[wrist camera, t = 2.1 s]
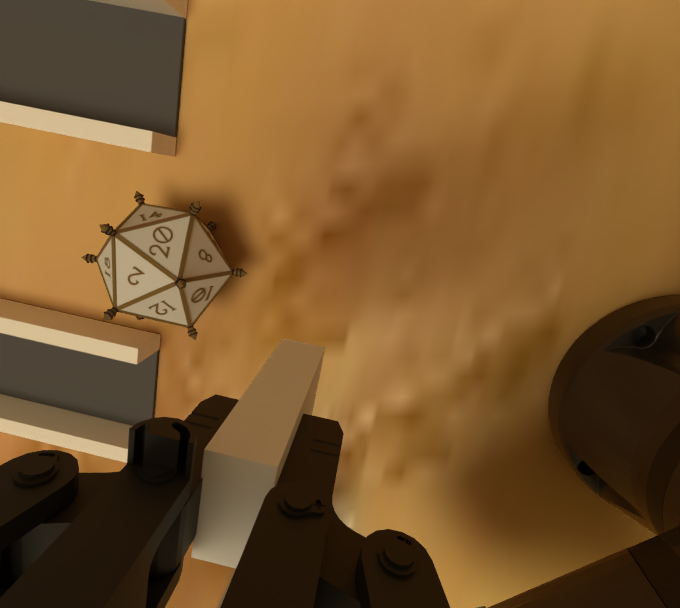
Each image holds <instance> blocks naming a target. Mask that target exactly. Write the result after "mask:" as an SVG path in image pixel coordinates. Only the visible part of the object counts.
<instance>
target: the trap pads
mask: <svg viewBox="0 0 680 608" xmlns="http://www.w3.org/2000/svg"><path fill="white" fill-rule="evenodd" d="M185 29H186V19H185V18H184V17H178V16H173V15H167V14H162V13H156V12H151V11H145V10H140V9H134V8H129V7H123V6H118V5H112V4H107V3H101V2H96V1H90V0H0V101H2V102H7V103H12V104H17V105H22V106H27V107H32V108H37V109H42V110H47V111H52V112H57V113H62V114H67V115H72V116H77V117H82V118H87V119H92V120H97V121H102V122H107V123H112V124H118V125H123V126H128V127H133V128H138V129H143V130H148V131H153V132H156V133H160V134H164V135H168V136H172V137H176V138H177V127H178V115H179V103H180V90H181V78H182V66H183V53H184V41H185ZM158 361H159V350H158V351H156V352H155V353H153V354H152V355H150V356H149V357H147V358H146V359H144V360H143V361H141V362H140V363H139V364H132V363H128V362H124V361H120V360H115V359H111V358H107V357H102V356H98V355H94V354H89V353H85V352H81V351H76V350H72V349H68V348H64V347H59V346H55V345H51V344H46V343H42V342H38V341H33V340H29V339H25V338H20V337H16V336H12V335H8V334H3V333H0V394H2V395H6V396H11V397H15V398H19V399H23V400H27V401H31V402H35V403H40V404H44V405H48V406H52V407H56V408H60V409H65V410H69V411H73V412H77V413H81V414H85V415H89V416H94V417H98V418H102V419H106V420H110V421H114V422H118V423H123V424H127V425H131V426H134V425H135V424H137V423H139V422H141V421H144V420H148V419H151V418H154V411H155V398H156V386H157V374H158Z"/></svg>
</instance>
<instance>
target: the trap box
mask: <svg viewBox="0 0 680 608" xmlns="http://www.w3.org/2000/svg"><path fill="white" fill-rule="evenodd" d="M90 1H96V2H101V3H107V4H112V5H118V6H123V7H129V8H134V9H140V10H145V11H151V12H156V13H162V14H167V15H173V16H178V17H184V18H185V19H186V16H187V4H188V0H90ZM0 122H3V123H8V124H13V125H18V126H23V127H28V128H33V129H38V130H43V131H48V132H53V133H58V134H63V135H68V136H73V137H78V138H83V139H87V140H92V141H97V142H102V143H107V144H112V145H117V146H122V147H127V148H132V149H137V150H142V151H147V152H152V153H158V154H164V155H169V156H175V152H176V140H177V138H176V137H172V136H168V135H164V134H160V133H156V132H153V131H148V130H143V129H138V128H133V127H128V126H123V125H118V124H112V123H107V122H102V121H97V120H92V119H87V118H82V117H77V116H72V115H67V114H62V113H57V112H52V111H47V110H42V109H37V108H32V107H27V106H22V105H17V104H12V103H7V102H2V101H0ZM0 333H3V334H8V335H12V336H16V337H20V338H25V339H29V340H33V341H38V342H42V343H46V344H51V345H55V346H59V347H64V348H68V349H72V350H76V351H81V352H85V353H89V354H94V355H98V356H102V357H107V358H111V359H115V360H120V361H124V362H128V363H132V364H139V363H140V362H141V361H143V360H144V359H146V358H147V357H149V356H150V355H152V354H153V353H155V352H156V351H158V350H159V349H160V337H161V335H160V334H155V333H151V332H146V331H142V330H138V329H133V328H129V327H124V326H120V325H116V324H111V323H107V322H102V321H98V320H94V319H89V318H85V317H80V316H76V315H72V314H67V313H63V312H58V311H54V310H50V309H45V308H41V307H36V306H32V305H28V304H23V303H19V302H14V301H10V300H6V299H1V298H0ZM131 427H132V426H131V425H127V424H123V423H118V422H114V421H110V420H106V419H102V418H98V417H94V416H89V415H85V414H81V413H77V412H73V411H69V410H65V409H60V408H56V407H52V406H48V405H44V404H40V403H35V402H31V401H27V400H23V399H19V398H15V397H11V396H6V395H2V394H0V432H4V433H8V434H12V435H16V436H20V437H24V438H28V439H32V440H36V441H40V442H45V443H49V444H53V445H57V446H61V447H65V448H69V449H73V450H77V451H81V452H85V453H89V454H93V455H97V456H101V457H105V458H109V459H114V460H118V461H122V462H126V463H127V456H128V440H129V428H131Z"/></svg>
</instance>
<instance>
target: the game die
mask: <svg viewBox="0 0 680 608" xmlns="http://www.w3.org/2000/svg"><path fill="white" fill-rule="evenodd" d="M143 196H144V195H142V194H140V193H139V192H138V191H136V194H135V197H134V198H135V199H136V200H135V201H136V202H138V204H139V205H138V206H137V207H136V208H135V210H134V211H133V212H132V213H131V214H130V215H129V216H128V217H127V218H126V219H125V220H124V221H123V222H122V223H121V224H120V225H119V226H118V227H117V228H116V229H115V230H114V229H113V227H112V226H109V224H103V225H100V228H101V232H103V233H105V234H106V235H110V236H109V238H108V239H107V241H106V243H105V244H104V246H103V247H102V249H101V251H100V252H99V254H98V255H97V256H95V255H92V254H91V255H90V254H87V255H85V256H83V257H81V258H83V259H84V260H85V261H87V263H89V262H91V263H93V262H97V263H98V266H99V269H100V272H101V275H102V277H103V280H104V283H105V286H106V289H107V291H108V294H109V297H110V300H111V302H112V305H113V308H112V309H108V311H106V312H104V318H103V321H104V320H109V319H112V318H113V316H115V315H116V313H117V312H121V313H125V314H130V315H134V316H136V317H137V319H138V320H140V319H144V318H147V319H152V320H156V321H160V322H165V323H169V324H174V325H178V326H183V327H187V328H188V332H187V333H189V336H190V337H191V338H193V339H194V340H196V336H197V333H198V332H196V329H195V328H194V327H193V325H194V324H195V322H196V321H197V320H198V318H199V317H200V316H201V315H202V313H203V312H204V311H205V309H206V308H207V307H208V306H209V304H210V303H211V302H212V300H213V299H214V298H215V297H216V295H217V294H218V293H219V291H220V290H221V289H222V288H223V286H224V285H225V284H226V282H227V281H228V280H229V279H230V277H231V276H232V275H236V276H240V277H241V276H243V275H245V274H247V273H246V272H245V271H244V270H242V268H241V269H238V268H237V269H232V267H231V265H230V263H229V262H228V260H227V258H226V257H225V255H224V253H223V251H222V250H221V248H220V246H219V245H218V243H217V241H216V239H215V238H214V236H213V234H212V233H211V230H214V228H215V229H216V222H212V221H211V222H210V223H209V224H208V225H207V226H206V225H205V224H204V223H203V222H202V221H201V220H200V219H199V218H198V216H197V215H196V213H198V212H199V210H200V209H201V207H200V202H199V201H198V202H196V203H192V204H191V205H192V206H191V207H190V209H191V210H190V212H189V211H183V210H178V209H172V208H166V207H161V206H155V205H149V204H145V203H144V200H145V198H143Z"/></svg>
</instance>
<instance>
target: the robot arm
mask: <svg viewBox="0 0 680 608" xmlns="http://www.w3.org/2000/svg"><path fill="white" fill-rule="evenodd" d="M324 350H325V347H322V346H317V345H313V344H308V343H304V342H299V341H295V340H290V339H286V338H283V339H282V340H281V341H280V343H279V344H278V346H277V347H276V349H275V350H274V351H273V353H272V354H271V356H270V357H269V358H268V360H267V361H266V363H265V364H264V366H263V367H262V368H261V370H260V371H259V373H258V374H257V375H256V377H255V378H254V380H253V381H252V383H251V384H250V385H249V387H248V388H247V390H246V391H245V392H244V394H243V395H242V397H241V398H240V400H237V399H233V398H228V397H224V396H220V395H214V396H212V397H210V398H208V399H206V400H204V401H202V402H200V403H199V405H198V406H197V407H196V408H195V409H194V410H193V411H192V414H190V415H189V416H188V417H187V418H186V419H185V420H184V421H183V420H180V419H178V418H169V417H160V418H151V419H148V420H144V421H141V422H139V423H137V424H135V425H134V426H132V427H131V428H129V440H128V456H127V465H126V466H125V467H124V468H123V469H122V470H121V471H120V472H110V473H79V466H78V461H77V459H76V458H75V457H73V456H72V455H71V454H69V453H66V452H62V451H59V450H42V451H37V452H32V453H27V454H25V455H22V456H19V457H17V458H14V459H12V460H10V461H8V462H6V463H4V464H2V465H0V608H165V606H166V604H167V602H168V600H169V598H170V597H171V595H172V593H173V591H174V589H175V587H176V585H177V583H178V581H179V579H180V575H181V572H182V567H183V558H184V555H185V553H186V552H187V550H188V548H189V546H190V544H191V543H192V541H193V548H192V557H193V558H196V559H200V560H204V561H208V562H212V563H216V564H220V565H224V566H228V567H232V568H236V570H235V573H234V575H233V578H232V580H231V583H230V585H229V588H228V590H227V593H226V595H225V598H224V600H223V603H222V605H221V608H450V606H449V603H448V601H447V598H446V595H445V593H444V590H443V588H442V585H441V582H440V580H439V577H438V574H437V572H436V569H435V566H434V564H433V561H432V559H431V558H430V556H429V554H428V553H427V551H426V549H425V548H424V547H423V546H422V545H421V544H420V543H419V542H418V541H416V540H415V539H414V538H412V537H410V536H408V535H407V534H405V533H403V532H399V531H395V530H390V529H386V530H378V531H375V532H374V533H372V534H370V535H369V536H367V537H364V536H362V535H360V534H358V533H356V532H355V531H353V530H352V529H350V528H349V527H347V526H346V525H345V524H344V523H343V522H342V521H341V520H340V519H339V518H338V516H337V514H336V513H335V511H334V508H333V505H332V495H333V489H334V484H335V478H336V473H337V467H338V461H339V456H340V450H341V445H342V439H343V431H342V429H341V427H340V425H339V423H338V421H334V420H329V419H325V418H321V417H316V416H312V411H313V406H314V401H315V396H316V391H317V386H318V381H319V376H320V371H321V366H322V361H323V355H324ZM548 408H549V421H550V426H551V430H552V433H553V436H554V439H555V441H556V443H557V445H558V447H559V449H560V450H561V452H562V454H563V455H564V457H565V458H566V460H567V461H568V463H569V464H570V466H571V467H572V469H573V470H574V471H575V473H576V474H577V475H578V476H579V478H580V479H581V480H582V481H583V482H584V483H585V484H586V485H587V486H588V487H589V488H590V489H591V490H593V491H594V492H595V493H596V494H597V495H599V496H600V497H602V498H603V499H605V500H606V501H608V502H609V503H611V504H612V505H614V506H615V507H617V508H618V509H619V510H621V511H622V512H624V513H625V514H627V515H628V516H630V517H631V518H633V519H634V520H636V521H637V522H639V523H640V524H642V525H643V526H645V527H646V528H648V529H649V530H651V531H652V532H654V533H655V534H657V535H658V536H655V537H653V538H651V539H648V540H646V541H644V542H642V543H639V544H637V545H635V546H632V547H629V548H626V549H624V550H621V551H619V552H617V553H614V554H612V555H610V556H607V557H605V558H603V559H600V560H598V561H596V562H593V563H591V564H589V565H586V566H584V567H582V568H579V569H577V570H575V571H572V572H570V573H568V574H565V575H563V576H561V577H558V578H556V579H554V580H551V581H549V582H547V583H544V584H542V585H540V586H537V587H535V588H533V589H530V590H528V591H526V592H523V593H521V594H519V595H516V596H514V597H512V598H509V599H507V600H505V601H502V602H500V603H498V604H495V605H493V606H491V607H488V608H680V295H671V296H662V297H657V298H652V299H648V300H644V301H641V302H637V303H635V304H632V305H629V306H627V307H625V308H622V309H620V310H618V311H616V312H614V313H612V314H610V315H609V316H607V317H605V318H604V319H602V320H601V321H599V322H598V323H597V324H595V325H594V326H593V327H591V328H590V329H589V330H588V331H587V332H585V333H584V334H583V335H582V336H581V337H580V338H579V339H578V340H577V341H576V342H575V344H574V345H573V346H572V347H571V348H570V350H569V351H568V353H567V354H566V355H565V357H564V359H563V360H562V362H561V364H560V366H559V368H558V370H557V372H556V374H555V377H554V379H553V383H552V386H551V390H550V396H549V407H548ZM193 539H194V540H193ZM477 608H486V607H485V606H482V607H477Z"/></svg>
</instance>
